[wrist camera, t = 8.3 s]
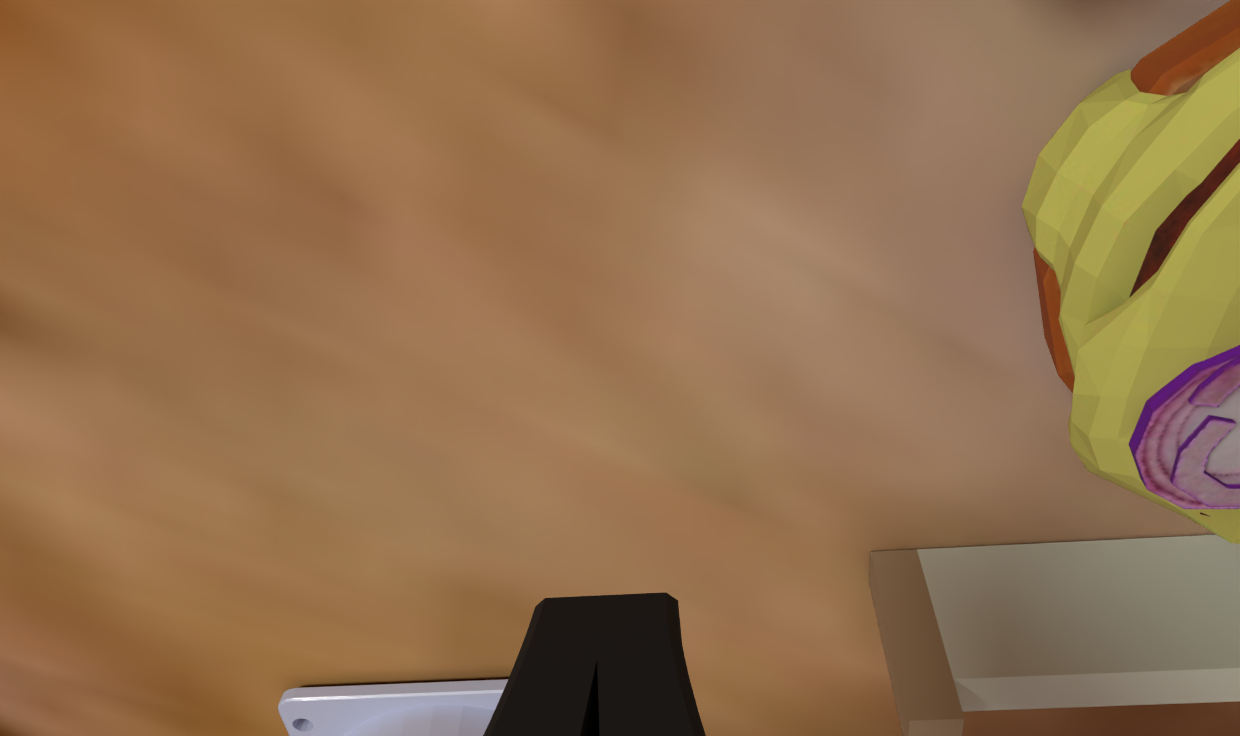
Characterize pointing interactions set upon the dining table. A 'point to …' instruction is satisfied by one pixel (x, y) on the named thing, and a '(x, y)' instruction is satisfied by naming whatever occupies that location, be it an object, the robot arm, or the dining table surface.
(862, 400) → the dining table surface
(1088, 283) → the cheeseburger
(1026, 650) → the serving tray rim
